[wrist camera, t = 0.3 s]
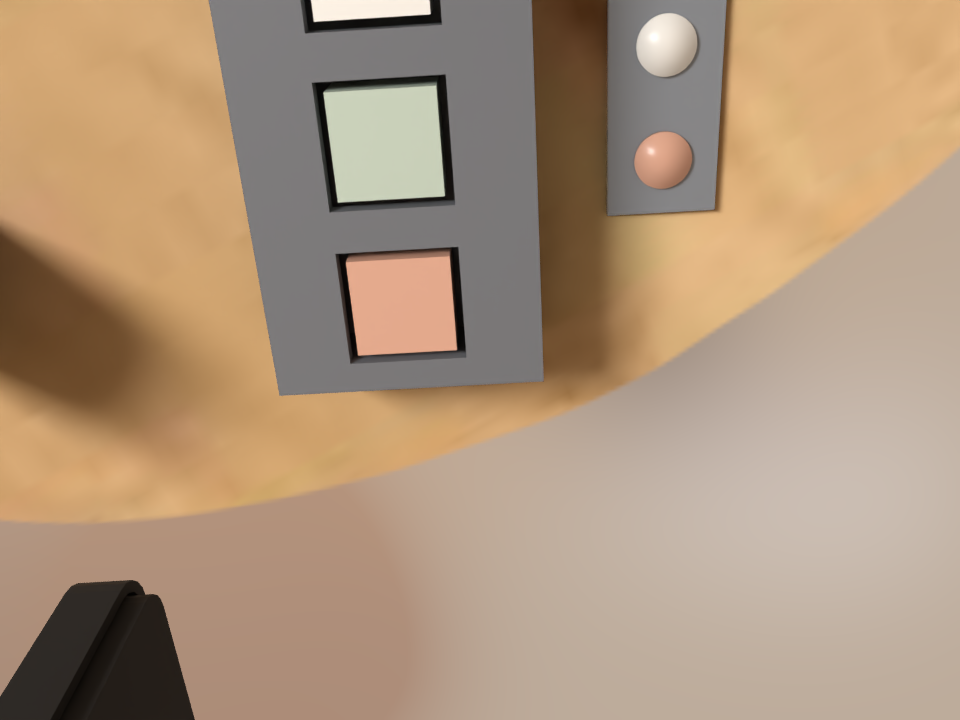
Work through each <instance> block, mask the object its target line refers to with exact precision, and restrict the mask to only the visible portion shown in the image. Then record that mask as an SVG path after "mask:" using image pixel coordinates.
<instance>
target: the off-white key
mask: <svg viewBox="0 0 960 720" xmlns="http://www.w3.org/2000/svg"><path fill="white" fill-rule="evenodd" d="M311 3H312V11H313V18H314V22H318V21H334V20H350V19H365V18H381V17H397V16H412V15H428V14H431V12H432V10H433V0H311Z"/></svg>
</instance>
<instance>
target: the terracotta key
mask: <svg viewBox="0 0 960 720" xmlns="http://www.w3.org/2000/svg"><path fill="white" fill-rule="evenodd" d="M346 267H347V275H348V282H349V290H350V297H351V305H352V313H353V320H354V328H355V335H356V343H357V350H358V356H359V355H377V354H395V353H413V352H432V351H450V350H457V337H458V323H457V310H456V297H455V284H454V271H453V258H452V247H446V248H429V249H411V250H394V251H377V252H360V253H349V255H348V258H347V261H346Z"/></svg>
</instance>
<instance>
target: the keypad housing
mask: <svg viewBox="0 0 960 720" xmlns="http://www.w3.org/2000/svg"><path fill="white" fill-rule="evenodd" d="M209 4H210V10H211V16H212V21H213V27H214V32H215V38H216V43H217V49H218V55H219V60H220V66H221V71H222V77H223V82H224V88H225V94H226V99H227V105H228V110H229V116H230V121H231V127H232V133H233V138H234V144H235V149H236V155H237V160H238V166H239V172H240V177H241V183H242V188H243V194H244V200H245V205H246V211H247V216H248V222H249V227H250V233H251V239H252V244H253V250H254V255H255V261H256V266H257V272H258V278H259V283H260V289H261V294H262V300H263V305H264V311H265V317H266V322H267V328H268V333H269V339H270V344H271V350H272V356H273V361H274V367H275V372H276V378H277V383H278V389H279V395H280V396H283V395H301V394H319V393H338V392H356V391H375V390H393V389H411V388H430V387H448V386H467V385H485V384H504V383H522V382H540V381H544V375H543V343H542V312H541V280H540V249H539V217H538V185H537V154H536V122H535V91H534V59H533V28H532V0H433V10H432V12H431V14H428V15H412V16H397V17H381V18H365V19H350V20H334V21H318V22H314V18H313V11H312V3H311V0H209ZM425 76H439V89H440V102H441V115H442V128H443V141H444V154H445V167H446V180H447V181H446V190H445V196H441V197H424V198H407V199H391V200H374V201H357V202H340V203H338V199H337V192H336V184H335V177H334V169H333V162H332V154H331V147H330V139H329V132H328V124H327V116H326V109H325V101H324V94H323V92H324V91H325V90H326V89H327V88H328V87H329V85H330V84H331V83H332V82H344V81H360V80H376V79H393V78H409V77H425ZM446 247H452V258H453V271H454V284H455V297H456V310H457V323H458V337H457V350H450V351H432V352H413V353H395V354H377V355H359V356H358V350H357V343H356V335H355V328H354V320H353V313H352V305H351V297H350V290H349V282H348V275H347V267H346V261H347V258H348V255H349V253H360V252H377V251H394V250H411V249H429V248H446Z"/></svg>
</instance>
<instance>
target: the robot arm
mask: <svg viewBox="0 0 960 720" xmlns="http://www.w3.org/2000/svg"><path fill="white" fill-rule="evenodd" d="M0 720H195V719H194V715H193V712H192V708H191V704H190V701H189V697H188V694H187V690H186V686H185V683H184V679H183V675H182V672H181V668H180V664H179V661H178V657H177V653H176V650H175V646H174V642H173V639H172V635H171V632H170V628H169V624H168V621H167V617H166V613H165V610H164V606H163V604H162V602H161V599H160V598H159V597H158V595H154V594H149V595H145V593H144V590H143V587H142V586H141V585H140V584H139V583H138V582H137V581H133V580H127V581H111V582H93V583H78V584H76V585H73V586H71V587H70V588H69V590H68V591H67V592H66V593H65V595H64V596H63V598H62V599H61V601H60V602H59V604H58V606H57V607H56V609H55V610H54V612H53V614H52V615H51V617H50V618H49V620H48V621H47V623H46V625H45V626H44V628H43V630H42V631H41V633H40V634H39V636H38V637H37V639H36V641H35V642H34V644H33V645H32V647H31V649H30V651H29V652H28V653H27V655H26V657H25V658H24V660H23V661H22V663H21V665H20V666H19V668H18V669H17V671H16V673H15V674H14V676H13V677H12V679H11V680H10V682H9V684H8V685H7V687H6V688H5V690H4V692H3V693H2V695H1V696H0Z"/></svg>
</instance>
